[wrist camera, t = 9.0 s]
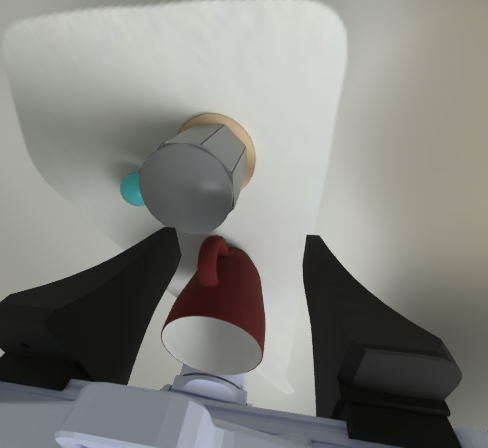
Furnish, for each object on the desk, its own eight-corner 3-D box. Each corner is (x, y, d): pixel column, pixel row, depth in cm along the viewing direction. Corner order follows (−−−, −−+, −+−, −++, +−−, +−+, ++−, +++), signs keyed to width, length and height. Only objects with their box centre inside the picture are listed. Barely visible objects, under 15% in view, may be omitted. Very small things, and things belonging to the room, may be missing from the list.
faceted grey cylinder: (247, 191, 21) (233, 236, 15) (187, 189, 21) (151, 231, 16) (245, 123, 18) (228, 147, 12) (176, 124, 18) (126, 146, 13)
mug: (178, 218, 24) (123, 295, 16) (253, 204, 22) (236, 284, 14) (213, 289, 29) (185, 375, 21) (276, 283, 27) (273, 376, 19)
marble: (164, 197, 23) (150, 212, 20) (136, 196, 23) (119, 211, 21) (157, 168, 21) (141, 180, 19) (127, 167, 22) (107, 179, 19)
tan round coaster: (255, 196, 21) (255, 198, 21) (183, 194, 22) (181, 196, 22) (255, 113, 18) (254, 113, 17) (168, 114, 18) (166, 115, 18)
